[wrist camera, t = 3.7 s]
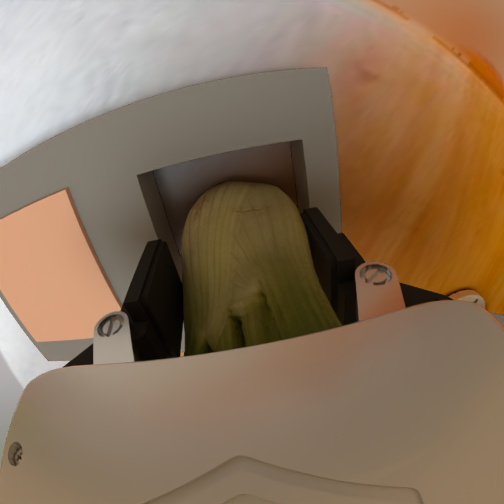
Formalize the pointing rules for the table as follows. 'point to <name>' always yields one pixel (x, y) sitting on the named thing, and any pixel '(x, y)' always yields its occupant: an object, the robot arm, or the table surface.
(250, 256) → the fennel bulb
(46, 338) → the holder board
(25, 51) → the table surface
